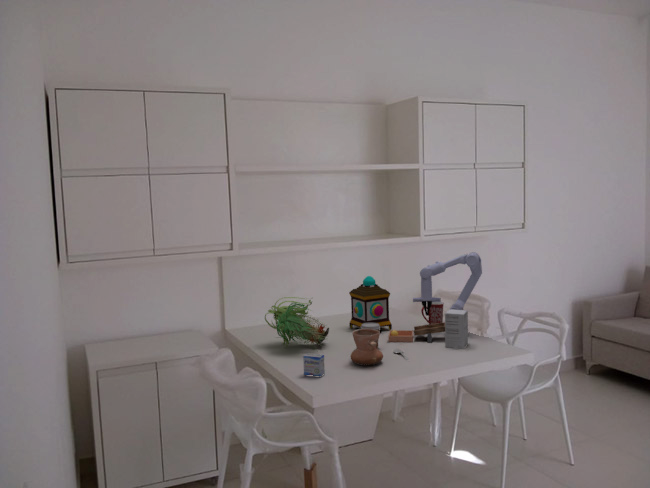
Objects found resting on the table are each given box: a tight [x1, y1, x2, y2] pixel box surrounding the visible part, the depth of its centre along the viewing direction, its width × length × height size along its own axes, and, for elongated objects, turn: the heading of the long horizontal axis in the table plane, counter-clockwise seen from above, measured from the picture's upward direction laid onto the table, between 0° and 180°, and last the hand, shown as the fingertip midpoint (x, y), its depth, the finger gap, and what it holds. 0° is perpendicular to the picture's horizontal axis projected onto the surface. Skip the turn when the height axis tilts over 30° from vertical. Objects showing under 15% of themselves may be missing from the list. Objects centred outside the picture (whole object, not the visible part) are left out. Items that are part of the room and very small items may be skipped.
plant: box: [264, 296, 330, 352], centre depth 281 cm, size 30×30×35 cm
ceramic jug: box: [350, 328, 384, 366], centre depth 250 cm, size 18×14×14 cm
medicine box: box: [302, 353, 326, 377], centre depth 235 cm, size 8×4×9 cm, turn 69°
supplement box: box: [444, 308, 469, 350], centre depth 272 cm, size 10×9×17 cm
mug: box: [420, 301, 445, 325], centre depth 311 cm, size 13×9×14 cm
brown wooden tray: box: [413, 321, 445, 337], centre depth 288 cm, size 16×16×3 cm
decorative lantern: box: [348, 275, 393, 331], centre depth 310 cm, size 20×20×30 cm
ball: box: [391, 329, 398, 336], centre depth 289 cm, size 4×4×4 cm
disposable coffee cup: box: [360, 323, 381, 350], centre depth 271 cm, size 10×10×12 cm
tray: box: [387, 329, 414, 343], centre depth 288 cm, size 12×12×3 cm
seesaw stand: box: [426, 333, 433, 344], centre depth 285 cm, size 2×13×5 cm, turn 170°
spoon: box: [393, 348, 410, 361], centre depth 257 cm, size 4×21×2 cm, turn 13°
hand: (427, 315), depth 299 cm, fingers closed
